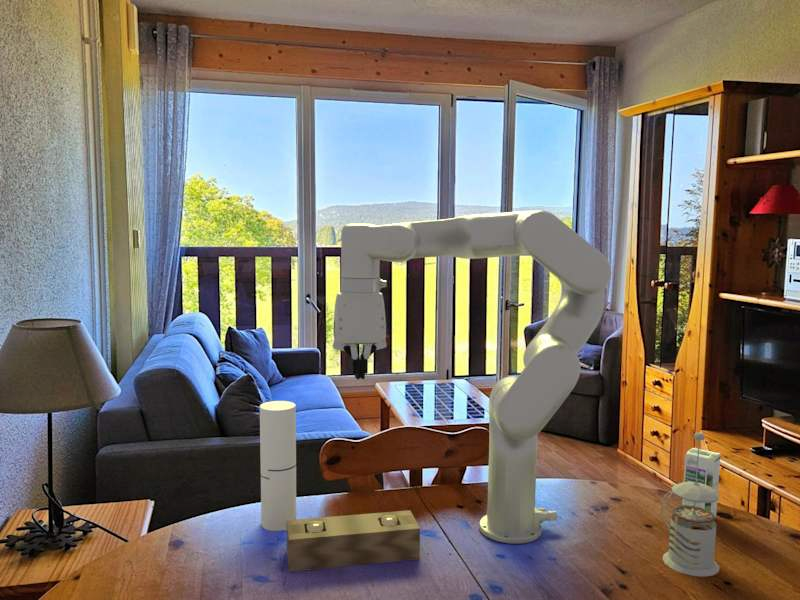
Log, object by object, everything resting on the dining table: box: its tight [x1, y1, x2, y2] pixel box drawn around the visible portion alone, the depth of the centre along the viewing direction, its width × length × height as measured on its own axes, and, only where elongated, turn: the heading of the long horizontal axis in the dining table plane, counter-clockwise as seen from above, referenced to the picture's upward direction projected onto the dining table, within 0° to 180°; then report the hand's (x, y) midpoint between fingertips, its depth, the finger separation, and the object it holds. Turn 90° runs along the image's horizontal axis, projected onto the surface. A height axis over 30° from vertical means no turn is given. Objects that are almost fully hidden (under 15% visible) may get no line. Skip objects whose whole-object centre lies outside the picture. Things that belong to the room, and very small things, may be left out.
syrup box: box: [681, 447, 722, 526], centre depth 146 cm, size 6×6×14 cm
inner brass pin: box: [381, 515, 397, 526], centre depth 130 cm, size 3×3×6 cm
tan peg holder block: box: [286, 509, 421, 573], centre depth 129 cm, size 24×8×6 cm, turn 102°
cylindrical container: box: [259, 400, 297, 532], centre depth 140 cm, size 7×7×25 cm
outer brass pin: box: [307, 521, 323, 533], centre depth 127 cm, size 3×3×6 cm
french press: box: [660, 431, 720, 577], centre depth 127 cm, size 10×12×25 cm
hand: (359, 377), depth 137 cm, fingers closed
